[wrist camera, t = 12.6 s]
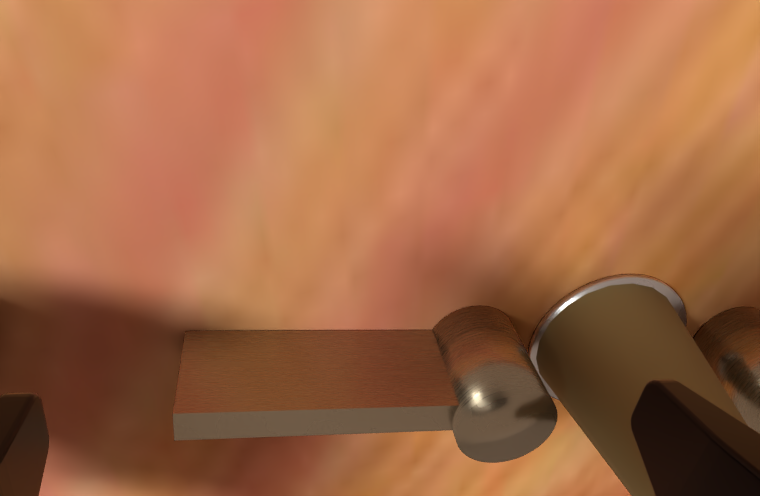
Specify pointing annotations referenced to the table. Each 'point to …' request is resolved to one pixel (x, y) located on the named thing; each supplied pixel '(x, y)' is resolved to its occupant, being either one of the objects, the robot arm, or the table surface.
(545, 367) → the olive rounded piece
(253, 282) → the table surface
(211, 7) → the table surface
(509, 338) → the hinge frame
